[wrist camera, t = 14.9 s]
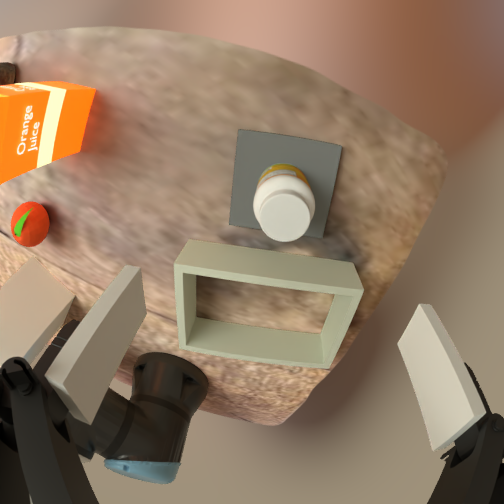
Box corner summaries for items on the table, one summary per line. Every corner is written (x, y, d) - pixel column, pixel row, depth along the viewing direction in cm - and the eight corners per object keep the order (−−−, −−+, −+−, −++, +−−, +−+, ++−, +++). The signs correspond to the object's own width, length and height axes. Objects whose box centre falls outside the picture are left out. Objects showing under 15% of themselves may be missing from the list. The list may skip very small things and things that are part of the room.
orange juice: (44, 138, 29) (-66, 184, 12) (58, 80, 25) (-63, 98, 7) (80, 152, 30) (-40, 208, 13) (97, 88, 26) (-38, 105, 8)
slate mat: (321, 235, 33) (322, 238, 32) (230, 222, 33) (228, 224, 32) (340, 145, 28) (342, 146, 27) (239, 129, 28) (238, 129, 27)
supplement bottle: (308, 208, 31) (319, 249, 22) (259, 210, 31) (252, 251, 23) (307, 161, 28) (320, 183, 20) (256, 163, 29) (246, 186, 20)
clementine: (40, 181, 32) (8, 197, 26) (65, 211, 34) (35, 231, 28) (26, 215, 35) (-1, 233, 29) (49, 242, 37) (23, 264, 31)
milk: (62, 324, 47) (1, 416, 24) (25, 289, 44) (-43, 371, 21) (75, 295, 42) (-4, 404, 20) (33, 255, 39) (-56, 346, 17)
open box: (324, 339, 41) (328, 368, 36) (190, 320, 42) (179, 348, 36) (352, 262, 34) (364, 290, 29) (189, 238, 35) (173, 263, 30)
